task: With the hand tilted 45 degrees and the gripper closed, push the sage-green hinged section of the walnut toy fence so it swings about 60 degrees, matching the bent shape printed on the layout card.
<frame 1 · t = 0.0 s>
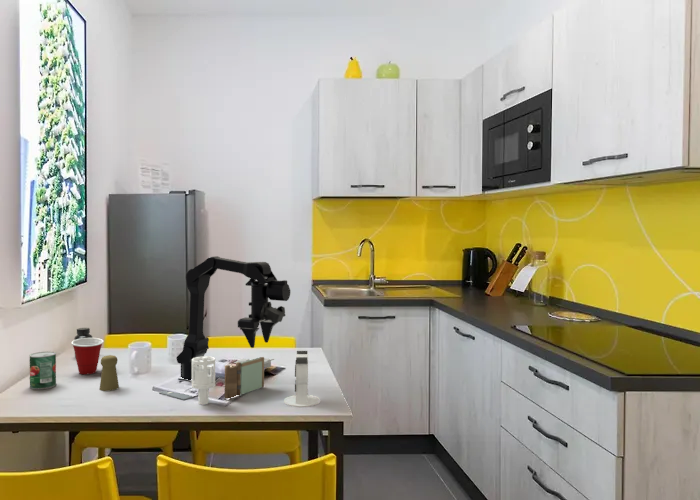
hand: (259, 344, 192), 15 cm above the table, tool pointing down, fingers open, 9 cm apart
layout card: (182, 393, 185), on the table
cork: (109, 388, 190), on the table
plastic cup: (87, 373, 209), on the table
strainer: (203, 403, 176), on the table
supplement bottle: (83, 358, 232), on the table
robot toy: (250, 371, 215), on the table
fence fixed: (238, 395, 184), on the table
folding section: (252, 375, 189), point 5 cm above the table, hinge at 0.0°
canned tomato: (43, 386, 192), on the table
white stand: (302, 401, 179), on the table
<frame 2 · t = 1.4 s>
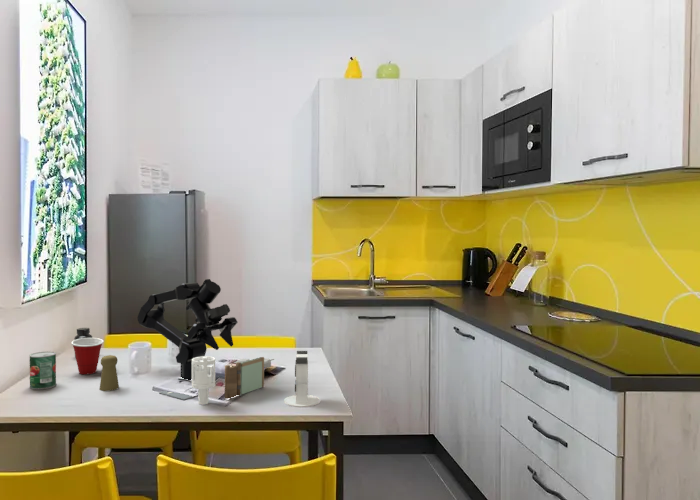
hand: (225, 347, 193), 14 cm above the table, tool tilted 45°, fingers open, 6 cm apart
nothing on the table moved.
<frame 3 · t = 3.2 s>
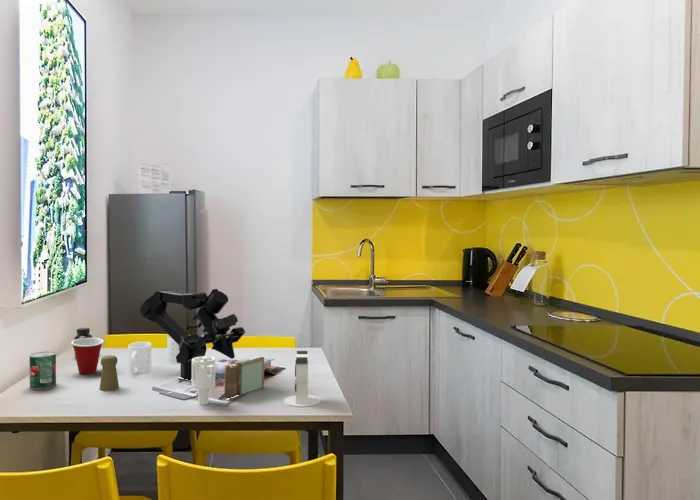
hand: (233, 357, 191), 10 cm above the table, tool tilted 45°, fingers closed
nothing on the table moved.
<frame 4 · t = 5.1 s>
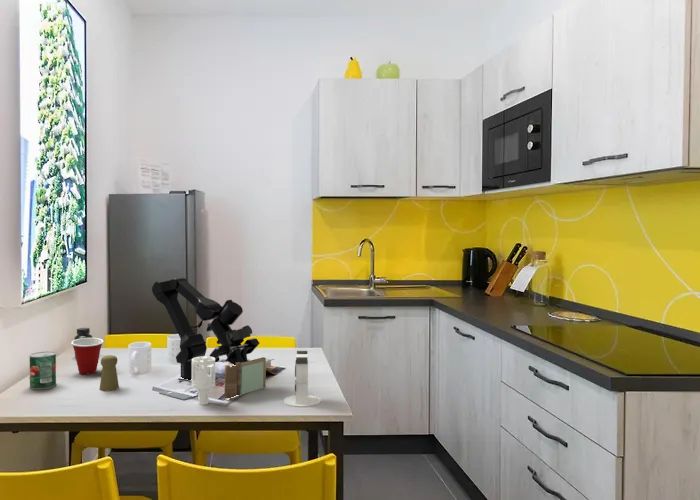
hand: (247, 370, 188), 7 cm above the table, tool tilted 45°, fingers closed, pressing on folding section
folding section: (253, 375, 189), point 5 cm above the table, hinge at 3.8°, touching gripper
everything else where it was.
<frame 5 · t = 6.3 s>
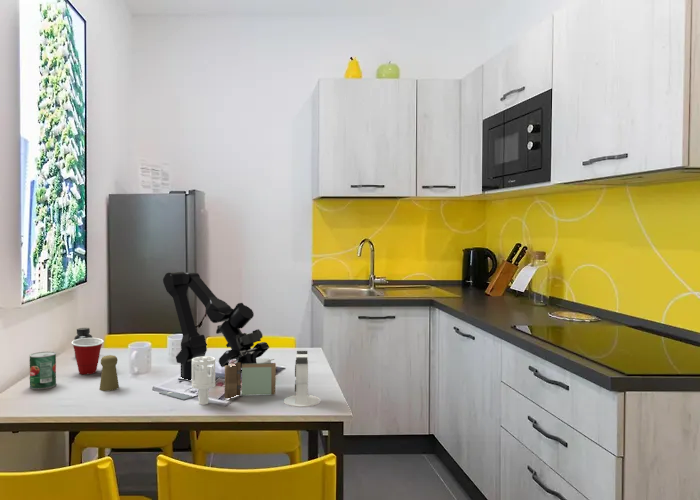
hand: (257, 375, 185), 6 cm above the table, tool tilted 45°, fingers closed
folding section: (258, 378, 184), point 5 cm above the table, hinge at 49.1°, touching gripper
everything else where it was.
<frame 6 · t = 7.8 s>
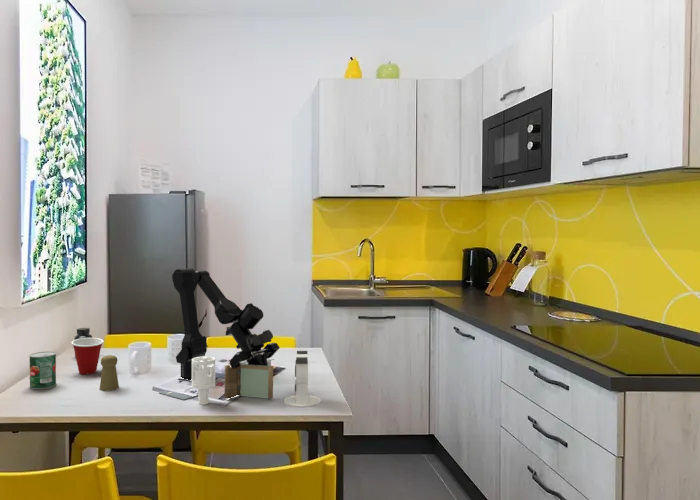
hand: (268, 376, 183), 7 cm above the table, tool tilted 45°, fingers closed
folding section: (257, 381, 182), point 5 cm above the table, hinge at 70.5°, touching gripper
everything else where it was.
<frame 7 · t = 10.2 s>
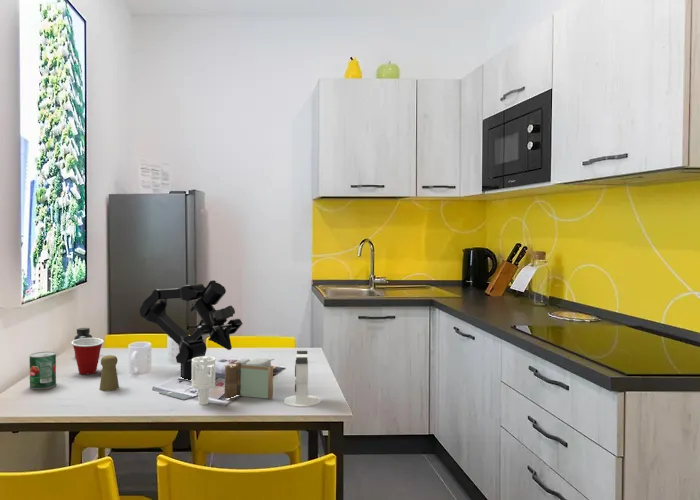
hand: (230, 349, 192), 13 cm above the table, tool tilted 45°, fingers closed
folding section: (257, 381, 182), point 5 cm above the table, hinge at 71.2°
everything else where it was.
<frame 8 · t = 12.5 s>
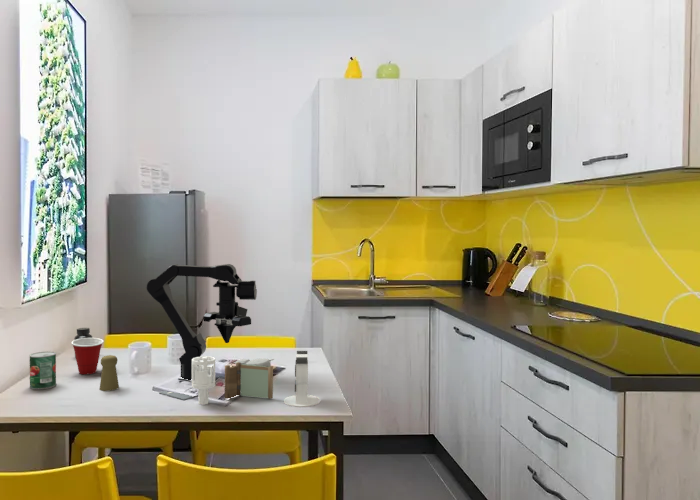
hand: (227, 342, 203), 13 cm above the table, tool pointing down, fingers closed
nothing on the table moved.
at the end: folding section at +71° (first picture: +0°) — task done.
